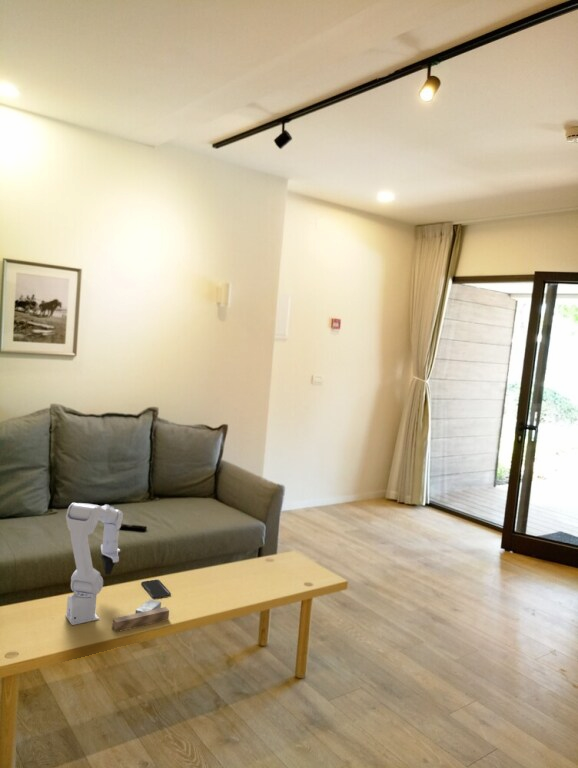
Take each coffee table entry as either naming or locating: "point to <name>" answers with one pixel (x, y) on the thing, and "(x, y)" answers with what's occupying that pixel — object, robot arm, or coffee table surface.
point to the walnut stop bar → (140, 619)
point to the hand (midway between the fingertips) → (107, 573)
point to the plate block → (149, 606)
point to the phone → (155, 589)
